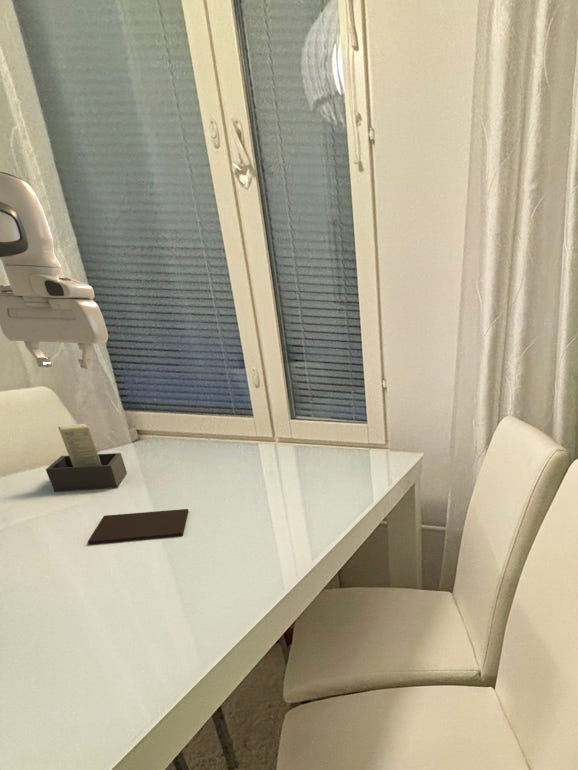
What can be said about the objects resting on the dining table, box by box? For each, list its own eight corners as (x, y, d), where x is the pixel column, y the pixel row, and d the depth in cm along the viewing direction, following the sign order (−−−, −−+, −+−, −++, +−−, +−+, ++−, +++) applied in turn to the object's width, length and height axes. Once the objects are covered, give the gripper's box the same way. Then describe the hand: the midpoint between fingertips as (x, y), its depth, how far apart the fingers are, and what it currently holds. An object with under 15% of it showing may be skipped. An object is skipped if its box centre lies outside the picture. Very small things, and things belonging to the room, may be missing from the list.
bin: (54, 491, 114) (45, 469, 111) (68, 476, 124) (61, 455, 121) (117, 487, 117) (110, 465, 115) (127, 473, 127) (120, 452, 125)
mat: (88, 544, 89) (87, 541, 89) (104, 518, 100) (103, 515, 100) (183, 535, 94) (182, 532, 93) (188, 511, 105) (188, 508, 104)
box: (103, 475, 123) (86, 423, 117) (107, 479, 120) (89, 426, 114) (76, 478, 120) (57, 425, 114) (79, 483, 117) (59, 428, 111)
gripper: (-26, 284, 100) (6, 367, 108) (74, 286, 98) (100, 371, 105) (5, 285, 106) (33, 365, 113) (100, 287, 103) (123, 369, 110)
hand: (66, 368), depth 109 cm, fingers open, 8 cm apart
